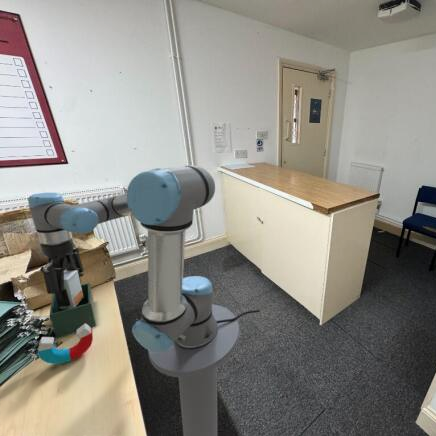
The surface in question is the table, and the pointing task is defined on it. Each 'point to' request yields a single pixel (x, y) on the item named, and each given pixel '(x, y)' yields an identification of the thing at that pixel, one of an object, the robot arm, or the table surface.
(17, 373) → the table surface
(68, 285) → the cosmetic box
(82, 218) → the robot arm
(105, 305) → the table surface
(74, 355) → the magnet
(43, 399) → the table surface
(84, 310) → the bin
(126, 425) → the table surface
